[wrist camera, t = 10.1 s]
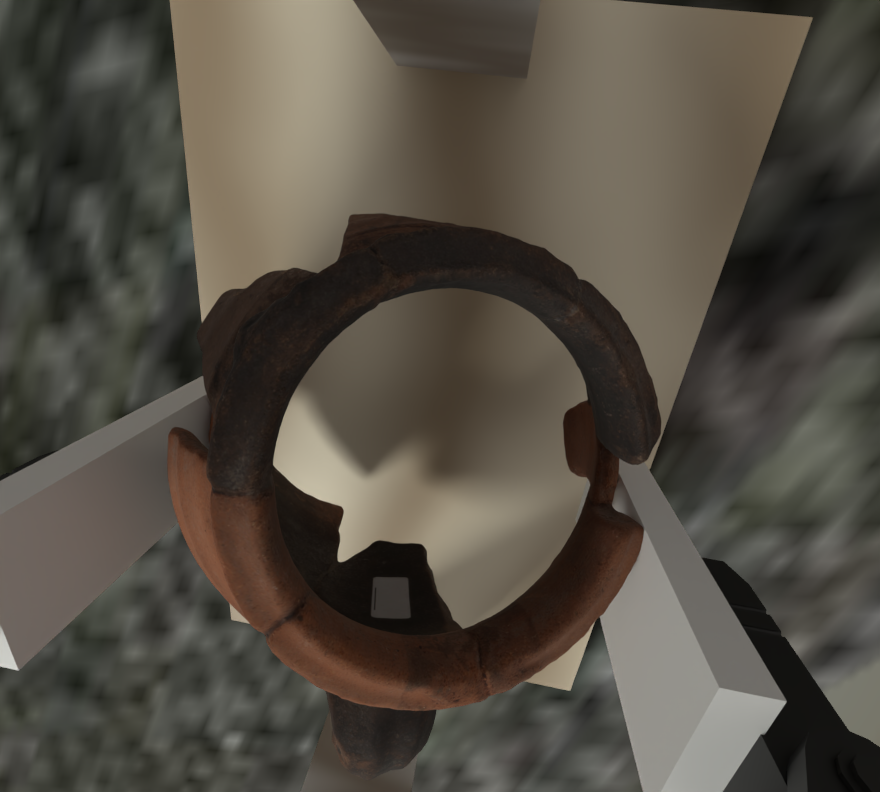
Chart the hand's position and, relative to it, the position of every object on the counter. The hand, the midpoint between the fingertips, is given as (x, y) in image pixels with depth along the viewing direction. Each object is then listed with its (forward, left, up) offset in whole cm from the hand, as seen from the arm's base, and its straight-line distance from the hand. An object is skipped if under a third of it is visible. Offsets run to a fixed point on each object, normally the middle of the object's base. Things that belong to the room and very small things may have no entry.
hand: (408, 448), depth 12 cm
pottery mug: (0, 0, -1) cm, 1 cm away
